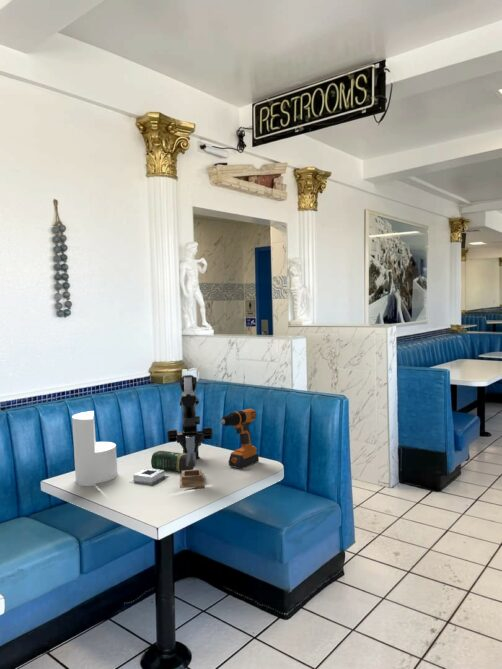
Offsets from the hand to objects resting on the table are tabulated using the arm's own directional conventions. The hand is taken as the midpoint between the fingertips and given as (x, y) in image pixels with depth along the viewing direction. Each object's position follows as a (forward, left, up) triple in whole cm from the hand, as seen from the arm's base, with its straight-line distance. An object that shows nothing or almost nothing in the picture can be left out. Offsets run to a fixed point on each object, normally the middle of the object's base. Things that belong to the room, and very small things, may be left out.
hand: (190, 452), depth 211 cm
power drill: (-28, -7, -13) cm, 31 cm away
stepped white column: (+30, -31, -13) cm, 46 cm away
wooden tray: (-1, -1, -13) cm, 13 cm away
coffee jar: (+4, -28, -9) cm, 30 cm away
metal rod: (-1, -1, -6) cm, 6 cm away
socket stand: (+13, -13, -13) cm, 23 cm away
